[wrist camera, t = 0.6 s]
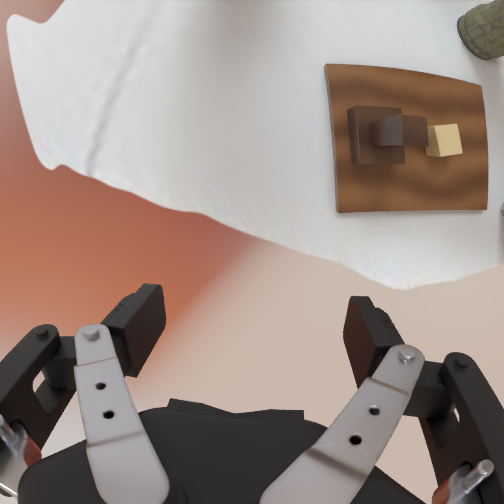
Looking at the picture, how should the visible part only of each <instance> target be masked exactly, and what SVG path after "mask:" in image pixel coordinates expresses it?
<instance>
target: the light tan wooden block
mask: <svg viewBox="0 0 504 504" xmlns="http://www.w3.org/2000/svg"><path fill="white" fill-rule="evenodd" d="M428 140H429V147H425V150H426V155H427V156H437V157H443V156H449V155H456V154H462V153H463V152H462V146H461V140H460V135H459V130H458V126H457V124H448V125H438V126H429V127H428Z"/></svg>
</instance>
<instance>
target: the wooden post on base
mask: <svg viewBox="0 0 504 504" xmlns="http://www.w3.org/2000/svg"><path fill="white" fill-rule="evenodd" d="M347 115H348V125H349V137H350V150H351V163H355V164H402V165H405V148H404V147H429V140H428V127H427V117H424V116H415V115H404V114H402V111H401V108H396V107H382V106H362V105H355V106H353V107H351V108H350V109H348V110H347Z"/></svg>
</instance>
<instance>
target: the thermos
mask: <svg viewBox="0 0 504 504" xmlns="http://www.w3.org/2000/svg"><path fill="white" fill-rule="evenodd" d="M457 28H458V32H459V35H460V37H461V39H462V41H463V43H464V44H465V45H466V47H467V48H468V49H469V50H470V51H471V52H472V53H473V54H474V55H475V56H477V57H479V58H480V59H484V60H488V59H492V58H498V57H502V56H504V0H494V1H493V2H491V3H489V4H480V5H478V6H476V7H475V8H473V9H471V10H470V11H468V12H467V13H466V14H465V15H463V16H462V17H460V18H459V19H458V22H457Z"/></svg>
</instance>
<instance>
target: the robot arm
mask: <svg viewBox="0 0 504 504" xmlns="http://www.w3.org/2000/svg"><path fill="white" fill-rule="evenodd" d="M165 325H166V313H165V305H164V296H163V289H162V286H161V285H157V284H146V283H145V284H143V285H142V286H141V287H140V288H139V289H138V290H137V292H136V293H132V294H130V295H128V296H126V297H124V298H123V299H122V300H121V301H120V302H119V303H118V305H117V306H116V307H115V308H114V310H112V311H111V312H110V313H109V314H108V315H107V317H106V318H105V319H104V320H103V321H102V322H101V323H100V324H89V325H86V326H84V327H82V328H80V329H79V330H78V331H77V332H76V333H75V336H62V337H61V336H59V333H58V330H57V328H56V327H55V326H54V325H50V324H44V325H40V326H37V327H35V328H33V329H32V330H31V331H30V332H29V333H28V334H27V335H26V336H25V337H24V338H23V339H22V340H21V341H20V342H19V343H18V344H17V345H16V346H15V347H14V348H13V349H12V350H11V351H10V352H9V353H8V354H7V355H6V356H5V358H4V359H3V360H2V361H1V362H0V494H2V495H4V496H7V497H12V496H13V497H15V498H16V499H18V504H426V503H424V502H423V501H422V500H420V499H419V498H418V497H416V496H415V495H413V494H412V493H410V492H409V491H408V490H406V489H405V488H404V487H402V486H401V485H400V484H398V483H397V482H396V481H394V480H393V479H392V478H391V477H389V476H388V475H387V474H385V473H384V472H383V471H382V470H380V469H379V468H378V467H377V466H375V464H376V462H377V461H378V459H379V457H380V456H381V454H382V452H383V450H384V449H385V447H386V445H387V443H388V442H389V440H390V438H391V436H392V434H393V432H394V431H395V429H396V427H397V425H398V423H399V421H400V419H401V416H402V415H407V416H414V417H418V418H419V421H420V424H421V428H422V431H423V434H424V437H425V440H426V444H427V447H428V450H429V454H430V457H431V461H432V464H433V468H434V472H435V476H436V479H437V483H438V488H437V489H436V490H435V492H434V494H433V496H432V504H504V409H503V407H502V405H501V403H500V402H499V400H498V398H497V396H496V395H495V393H494V391H493V390H492V388H491V386H490V385H489V383H488V381H487V380H486V378H485V377H484V375H483V374H482V372H481V370H480V369H479V367H478V366H477V364H476V363H475V361H474V360H473V359H472V358H471V357H469V356H468V355H466V354H463V353H459V352H453V353H449V354H448V355H447V356H446V357H445V359H444V362H443V363H437V362H430V361H425V358H424V355H423V354H422V352H421V351H420V350H418V349H416V348H415V347H413V346H410V345H405V343H404V341H403V339H402V338H401V336H400V334H399V333H398V331H397V329H396V328H395V326H394V324H393V323H392V321H391V319H390V317H389V316H388V314H387V313H385V312H384V311H383V310H381V309H380V308H375V307H374V305H373V303H372V301H371V300H370V298H369V297H368V296H351V298H350V300H349V305H348V310H347V315H346V319H345V325H344V330H343V340H344V344H345V347H346V350H347V354H348V357H349V360H350V364H351V367H352V370H353V374H354V377H355V381H356V384H357V388H358V390H357V392H356V393H355V395H354V396H353V397H352V399H351V400H350V401H349V403H348V404H347V405H346V407H345V408H344V409H343V410H342V412H341V413H340V414H339V415H338V417H337V418H336V419H335V421H334V422H333V423H332V424H331V425H330V427H329V428H327V427H325V426H323V425H321V424H318V423H315V422H312V421H308V420H304V410H274V409H269V410H262V411H255V412H245V413H231V412H227V411H224V410H221V409H217V408H215V407H212V406H209V405H206V404H203V403H197V402H190V401H184V400H178V399H172V398H171V399H170V400H169V403H168V406H167V407H161V408H153V409H148V410H145V411H142V412H139V413H137V410H136V408H135V405H134V403H133V400H132V397H131V395H130V392H129V389H128V387H127V384H126V382H125V376H126V375H127V376H131V377H135V378H137V376H138V374H139V372H140V371H141V369H142V367H143V365H144V364H145V362H146V360H147V358H148V357H149V355H150V353H151V351H152V349H153V348H154V346H155V344H156V343H157V341H158V339H159V337H160V336H161V334H162V332H163V331H164V328H165ZM40 371H42V373H43V375H44V377H45V379H44V381H43V382H42V383H41V385H40V386H39V388H38V389H37V390H36V392H35V393H34V391H33V381H34V379H35V377H36V376H37V375H38V373H39V372H40ZM76 390H77V394H78V400H79V406H80V412H81V417H82V421H83V426H84V431H85V435H86V439H85V440H83V441H82V442H79V443H77V444H75V445H72V446H70V447H68V448H66V449H64V450H61V451H59V452H57V453H55V454H52V455H50V456H48V457H45V458H43V459H42V455H41V450H42V448H43V446H44V444H45V443H46V441H47V439H48V437H49V436H50V434H51V432H52V430H53V429H54V427H55V425H56V423H57V422H58V420H59V418H60V417H61V415H62V413H63V412H64V410H65V408H66V407H67V405H68V403H69V402H70V400H71V398H72V397H73V395H74V394H75V392H76ZM455 408H456V409H457V411H458V414H459V422H458V420H457V417H456V415H455V413H454V409H455Z"/></svg>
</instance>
